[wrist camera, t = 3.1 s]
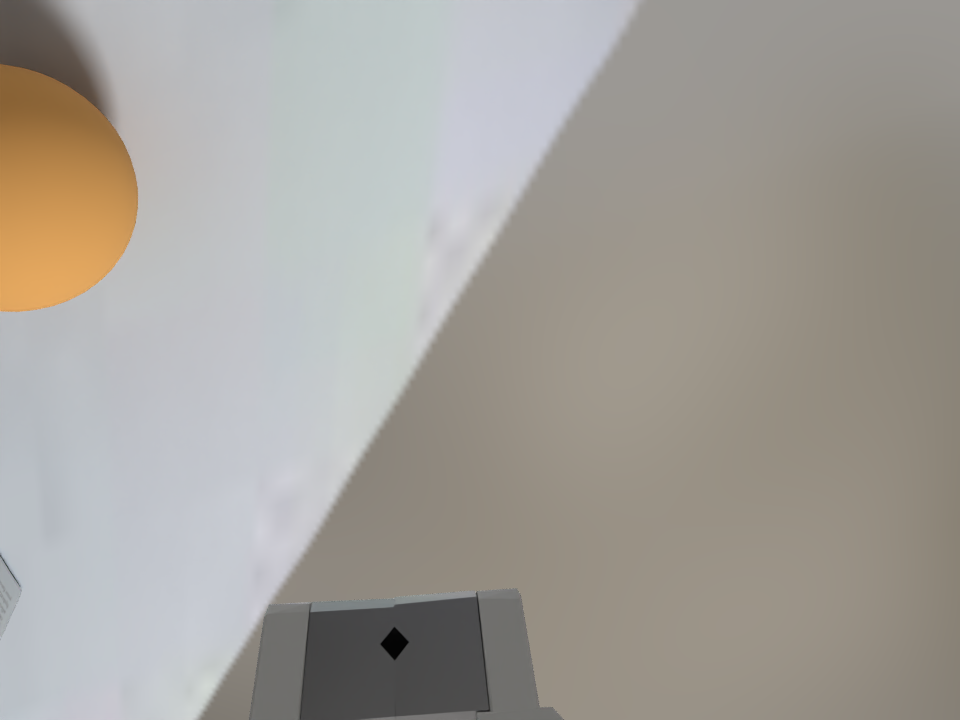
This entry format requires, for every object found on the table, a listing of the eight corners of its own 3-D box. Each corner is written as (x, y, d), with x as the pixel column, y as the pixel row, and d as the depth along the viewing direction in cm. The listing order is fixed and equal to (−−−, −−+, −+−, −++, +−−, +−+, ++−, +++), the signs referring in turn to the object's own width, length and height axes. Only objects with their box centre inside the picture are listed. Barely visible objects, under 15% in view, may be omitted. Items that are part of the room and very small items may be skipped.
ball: (178, 241, 26) (129, 352, 21) (-30, 249, 25) (-131, 364, 20) (134, 33, 22) (63, 106, 17) (-108, 37, 22) (-252, 113, 17)
